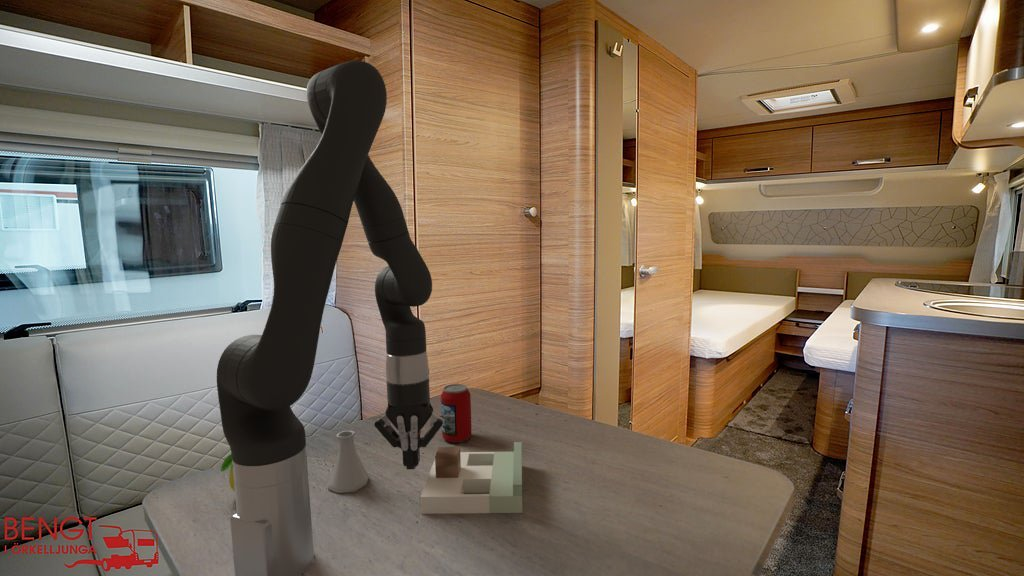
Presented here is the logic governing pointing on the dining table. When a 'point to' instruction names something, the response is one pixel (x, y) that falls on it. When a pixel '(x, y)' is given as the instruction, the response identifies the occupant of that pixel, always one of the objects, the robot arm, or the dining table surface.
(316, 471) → the dining table surface
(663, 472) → the dining table surface
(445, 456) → the walnut block
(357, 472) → the flask
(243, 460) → the robot arm
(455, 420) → the beverage can
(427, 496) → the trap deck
